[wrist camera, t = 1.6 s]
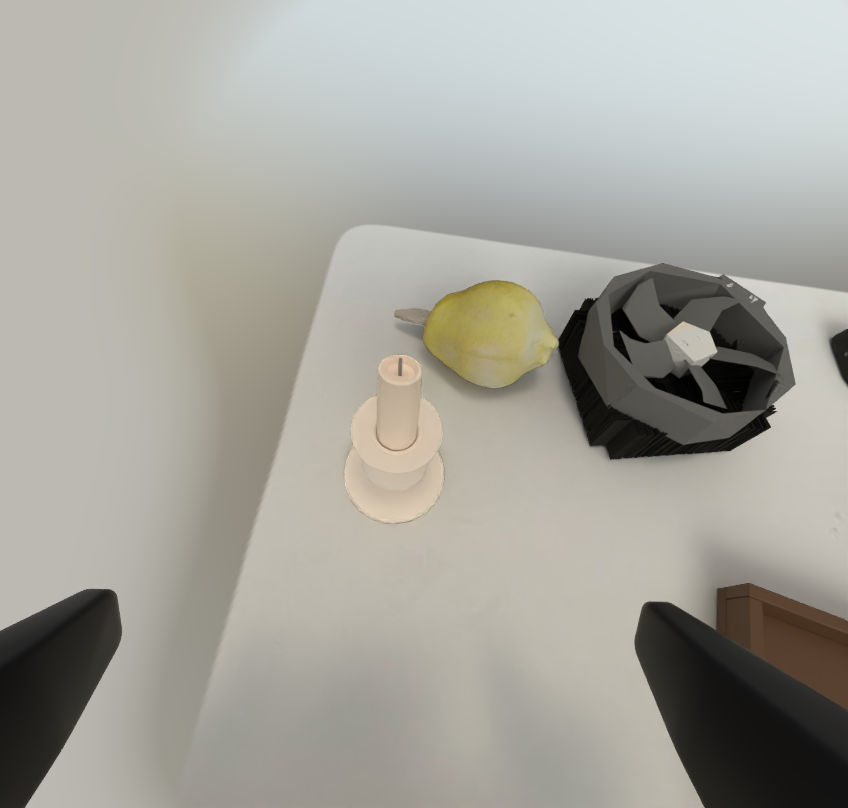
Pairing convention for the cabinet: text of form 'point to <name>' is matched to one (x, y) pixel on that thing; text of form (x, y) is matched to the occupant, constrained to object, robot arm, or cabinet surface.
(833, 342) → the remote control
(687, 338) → the cpu cooler
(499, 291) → the fruit
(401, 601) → the cabinet surface
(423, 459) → the candle
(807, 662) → the tray
